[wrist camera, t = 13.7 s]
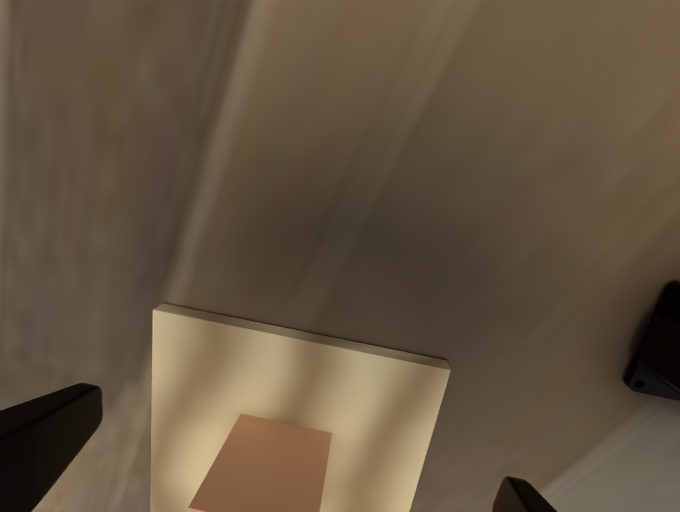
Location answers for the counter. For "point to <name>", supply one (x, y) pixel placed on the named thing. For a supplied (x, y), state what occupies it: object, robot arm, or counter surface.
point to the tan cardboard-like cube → (266, 469)
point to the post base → (289, 405)
